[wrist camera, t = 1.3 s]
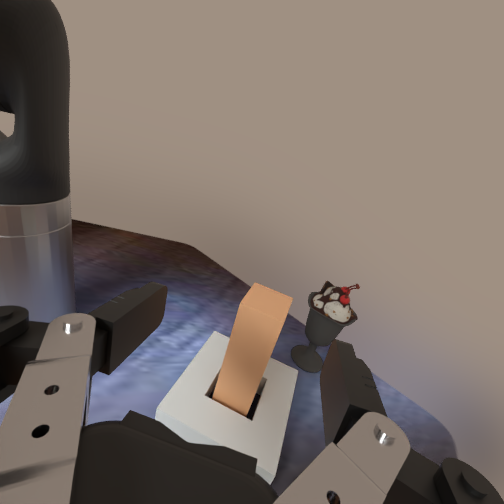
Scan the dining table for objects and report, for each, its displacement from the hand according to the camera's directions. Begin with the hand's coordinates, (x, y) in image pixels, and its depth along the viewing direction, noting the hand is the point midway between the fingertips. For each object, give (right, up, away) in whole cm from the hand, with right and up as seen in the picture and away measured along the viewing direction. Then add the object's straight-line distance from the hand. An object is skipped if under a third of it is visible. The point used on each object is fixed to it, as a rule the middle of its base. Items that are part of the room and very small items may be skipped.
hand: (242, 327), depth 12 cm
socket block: (-2, -14, +18) cm, 22 cm away
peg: (-2, -14, +18) cm, 22 cm away
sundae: (+9, -13, +27) cm, 31 cm away
